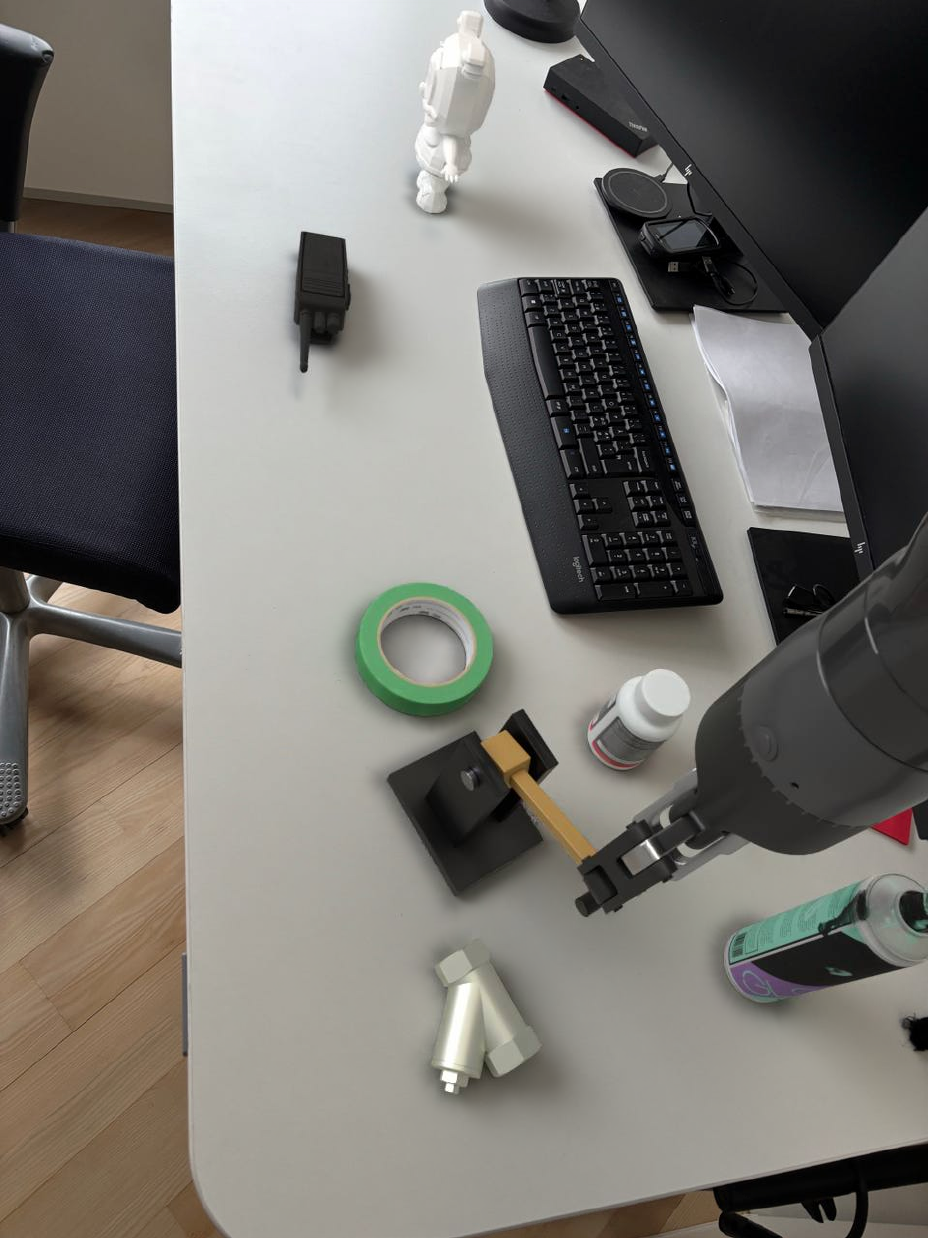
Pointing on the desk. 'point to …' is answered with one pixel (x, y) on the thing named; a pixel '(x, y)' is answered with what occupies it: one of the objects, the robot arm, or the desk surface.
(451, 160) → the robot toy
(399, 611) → the tape roll
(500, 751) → the faucet lever
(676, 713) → the pill bottle
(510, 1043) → the pipe fitting
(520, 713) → the black mounting base
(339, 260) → the walkie-talkie
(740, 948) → the spray can
